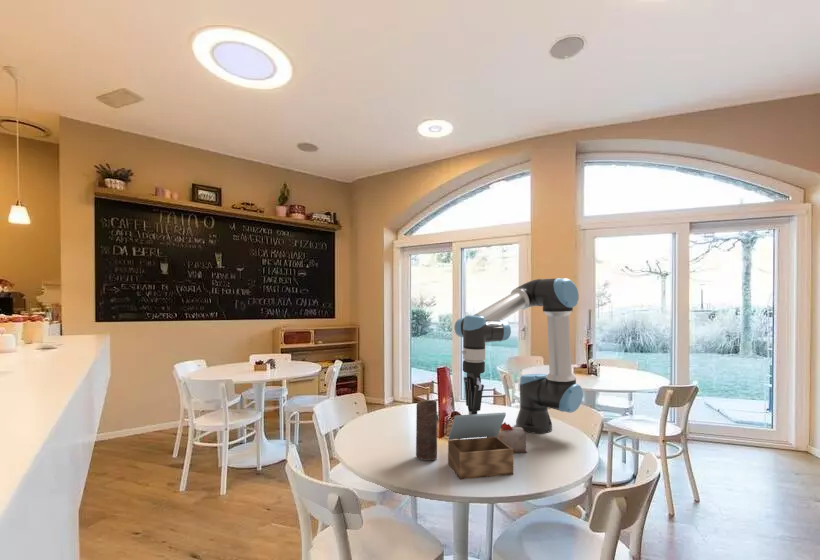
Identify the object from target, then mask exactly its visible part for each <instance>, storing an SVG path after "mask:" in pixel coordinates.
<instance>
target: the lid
mask: <svg viewBox="0 0 820 560" xmlns="http://www.w3.org/2000/svg"><path fill="white" fill-rule="evenodd" d="M506 415H507V414H506V412H491V413H477V414H471V415H469V414H460V415H458V414H457V415H454V417H453V418H454V419H453V421H452V425H451V428H450V431H449V434H448V437H447V438H448V440H461V439H474V438H487V437H492V436H497V435H498V432H499V430H500V428H501V425H502V424H504V420H505V418H506Z"/></svg>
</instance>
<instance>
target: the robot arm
mask: <svg viewBox="0 0 820 560" xmlns="http://www.w3.org/2000/svg"><path fill="white" fill-rule="evenodd" d="M577 287H578V286H576V284H575V283H574V282H573V280H571V279H569V278H561V277H560V278H559V277H557V278H538V279H537V278H536V279H533V280H530V281H528V282H526V283H523V284H521V285H520V286H518V287H516V288H514V289H513V290H512V291H511V292H510V294H508V295H506V296H505V297H503V298H501V299H499V300H498V301H495V302H494V303H492V304H491V305H489V306H487V307H485V308H484V309H482V310H480V311H479V312H477V313H475V314H471V315H466V316H464V317H463V318H458V319H457V320H456V321H455V322H454V333H455V334H456V336H458V337H460V338H462V339H463V340H462V344H463V346H462V351H461V354H462V359H463V360H462V371H463V372H464V373H466V376H464V377H463V382H464V391H465V392H464V393H465V405H466V407H467V409H468V411H467V412H468V415H471V414H478V412H479V411H481V408H482V399H483V391H484V388H485V385H484V384H482V379H481V375H482V374H483V373H485V371H486V368H485V367H486V363H485V360H486V343H491V342H503V341H506V340H509V338H510V337H511V334H512V330H511V329H512V328H511V326H510V323H508V322H507V321H506V320H505V319H507V318H509V317H510V316H511V315H513V314H515V313H516V312H518V311H520V310H523V311H524V310H526V309H528V308H530V307H542V313H544V314H545V316H546V322H547V324H546V325H547V326H546V327H547V343H548V344H547V346H548V347H547V348H548V367H549V368H548V371H549V373H547V374H546V373H528V374H523V375H521V376H520V379H519V412H518V414H517V417H516V420H515V427H522V428H523V429H524V431H525V432H526V433H527V432H528V433H532V432H535V433H534V434H541V433H540V432H546V433H549V432H548V431H550V430H552V431H553V422H552V420H551V416H550V414H549V408H550V409H553V410H557V411H559V412H562V413H569V414H571V413H575V412H576V411H577V410H578V409H579V407H580V406H581V405H582V402H583V397H584V391H583V388H582V386H581V385H580V384H578V383H577V378H576V376H574V375H573V373H572V353H571V330H570V315H571V314H572V312H574V309H573V308H575V306H577V305H578V301H579V291H578V288H577ZM550 432H551V431H550Z"/></svg>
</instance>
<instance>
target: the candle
mask: <svg viewBox="0 0 820 560" xmlns="http://www.w3.org/2000/svg"><path fill="white" fill-rule="evenodd" d="M437 404H438V403H437V400H427V399H426V400H424V399H422V400H419V401H418V402H417V403H416V421H415V423H416V425H415V429H416V430H415V431H416V434H415V437H416V438H415V439H416V440H415V441H416V443H415V446H416V447H415V456H416V458H418V459H421V460H423V461H430V460H437V458H438V425H437V424H438V422H437V421H438V416H437V415H438V413H437V411H438V410H437V408H438V407H437Z"/></svg>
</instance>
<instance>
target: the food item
mask: <svg viewBox="0 0 820 560" xmlns="http://www.w3.org/2000/svg"><path fill="white" fill-rule="evenodd" d="M526 434H527V431H524V429H523V428H522V427H516V426H511V425H510V424H509V423H506V421H503V423H502V425H501V428H500V430H499V432H498V435H497V436H492V437H498V438H500V439H501V440H502V441H503V442H505V443H506V444H507V445H508V446H510V447H511V448H512V449H513V454H514V453H515V454H521V453H522V454H526V453H527V452H528V451H527V442H526V441H527V437H526ZM486 438H488V437H486Z"/></svg>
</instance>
